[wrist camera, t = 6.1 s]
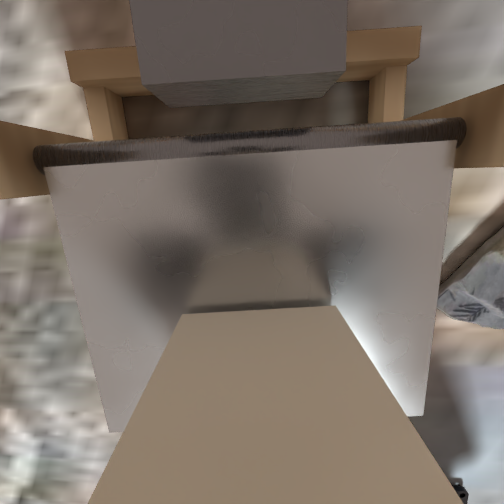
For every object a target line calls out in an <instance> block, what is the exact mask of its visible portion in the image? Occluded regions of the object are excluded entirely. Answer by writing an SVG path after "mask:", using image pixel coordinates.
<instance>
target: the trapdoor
mask: <svg viewBox="0 0 504 504" xmlns="http://www.w3.org/2000/svg"><path fill="white" fill-rule="evenodd" d="M129 2H130V9H131V15H132V22H133V29H134V35H135V42H136V49H137V56H138V62H139V69H140V76H141V83H142V85H143V86H144V87H145V88H146V89H147V90H149V91H150V92H151V93H152V94H154V95H155V96H156V97H157V98H159V99H160V100H161V101H162V102H163V103H165V104H166V105H167V106H168V107H170V108H174V107H189V106H204V105H218V104H233V103H248V102H262V101H277V100H292V99H306V98H321V97H322V96H323V95H324V94H325V93H326V92H327V91H328V90H329V89H330V87H331V86H332V85H333V84H334V83H335V82H336V81H337V80H338V79H339V78H340V77H341V76H342V74H343V73H344V72H345V71H346V45H347V2H348V0H129ZM466 130H467V127H466V122H465V120H464V119H463V118H461V117H453V118H439V119H424V120H409V121H394V122H379V123H364V124H349V125H334V126H319V127H304V128H289V129H274V130H259V131H244V132H229V133H214V134H199V135H184V136H169V137H154V138H139V139H124V140H109V141H95V142H80V143H65V144H50V145H38V146H36V147H35V148H34V150H33V160H34V163H35V166H36V167H37V169H38V170H39V172H40V173H42V174H43V175H45V176H46V180H47V184H48V188H49V192H50V196H51V200H52V204H53V208H54V212H55V216H56V220H57V224H58V228H59V232H60V236H61V240H62V244H63V248H64V252H65V256H66V260H67V264H68V268H69V272H70V276H71V280H72V284H73V288H74V292H75V296H76V300H77V304H78V308H79V312H80V316H81V320H82V324H83V328H84V332H85V336H86V340H87V344H88V348H89V352H90V356H91V360H92V364H93V368H94V373H95V377H96V381H97V385H98V389H99V393H100V397H101V401H102V405H103V409H104V413H105V417H106V421H107V425H108V429H109V433H110V432H124V430H125V428H126V426H127V424H128V422H129V420H130V418H131V416H132V414H133V412H134V410H135V408H136V406H137V404H138V402H139V400H140V398H141V396H142V394H143V392H144V390H145V388H146V386H147V384H148V382H149V380H150V378H151V376H152V374H153V372H154V370H155V368H156V366H157V364H158V362H159V360H160V358H161V356H162V354H163V352H164V350H165V348H166V346H167V344H168V342H169V340H170V338H171V336H172V333H173V331H174V329H175V327H176V325H177V323H178V321H179V319H180V317H181V315H182V314H195V313H213V312H230V311H248V310H265V309H282V308H300V307H317V306H334V305H336V307H337V308H338V310H339V312H340V313H341V315H342V316H343V318H344V319H345V321H346V322H347V324H348V325H349V327H350V329H351V330H352V332H353V333H354V335H355V336H356V338H357V339H358V341H359V342H360V344H361V346H362V347H363V349H364V350H365V352H366V353H367V355H368V356H369V358H370V360H371V361H372V363H373V364H374V366H375V367H376V369H377V370H378V372H379V373H380V375H381V377H382V378H383V380H384V381H385V383H386V384H387V386H388V387H389V389H390V390H391V392H392V394H393V395H394V397H395V398H396V400H397V401H398V403H399V404H400V406H401V408H402V409H403V411H404V412H405V414H406V415H407V417H409V416H423V413H424V405H425V397H426V389H427V381H428V373H429V364H430V356H431V348H432V340H433V332H434V324H435V316H436V307H437V299H438V291H439V283H440V275H441V267H442V259H443V250H444V242H445V234H446V226H447V218H448V210H449V202H450V193H451V185H452V177H453V169H454V161H455V153H456V149H457V148H458V147H459V146H460V145H461V144H462V143H463V141H464V139H465V136H466Z"/></svg>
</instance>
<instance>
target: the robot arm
mask: <svg viewBox="0 0 504 504" xmlns="http://www.w3.org/2000/svg"><path fill="white" fill-rule="evenodd" d="M452 487H453V488H454V490H455V491H456V493H457V494H458V496H459V497H460V499H461V500H462V502H463V504H467V501H468V492H467V491H466V489H465V488H464V487H463V486H452Z"/></svg>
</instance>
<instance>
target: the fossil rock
mask: <svg viewBox="0 0 504 504" xmlns="http://www.w3.org/2000/svg"><path fill="white" fill-rule="evenodd" d="M436 308H437V309H439V310H441V311H443V313H444V314H445V315H446V316H448V317H450V318H452V319H454V320H460V321H465V322H470V323H474V324H478V325H480V326H482V327H491V328H494V329H504V226H503V227H502V228H501V229H500V230H499V231H498V232H497V233H496V234H495V235H494V236H492V237H491V238H490V239H488V240H487V241H485V242H484V243H483V245H482V246H481V247H480V248H479V249H478V250H477V251H476V252H475V253H474V254H473V255H472V256H470V257H469V258H468V259H467V260H466V261H465V262H464V263H463V264H462V265H461V266H460V267H459V268H458V269H457V270H456V271H455V272H454V273H453V274H452V275H451V276H450V277H449V278H448V279H447V280H446V281H445V282H444V283H442V284H441V285H440V286H439V291H438V299H437V307H436Z"/></svg>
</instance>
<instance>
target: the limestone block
mask: <svg viewBox="0 0 504 504" xmlns="http://www.w3.org/2000/svg"><path fill="white" fill-rule="evenodd" d="M88 504H463V502H462V500H461V499H460V497H459V496H458V494H457V493H456V491H455V490H454V488H453V487H452V485H451V483H450V482H449V480H448V479H447V477H446V476H445V474H444V473H443V471H442V469H441V468H440V466H439V465H438V463H437V462H436V460H435V459H434V457H433V456H432V454H431V452H430V451H429V449H428V448H427V446H426V445H425V443H424V442H423V440H422V439H421V437H420V435H419V434H418V432H417V431H416V429H415V428H414V426H413V425H412V423H411V421H410V420H409V418H408V417H407V415H406V414H405V412H404V411H403V409H402V408H401V406H400V404H399V403H398V401H397V400H396V398H395V397H394V395H393V394H392V392H391V390H390V389H389V387H388V386H387V384H386V383H385V381H384V380H383V378H382V377H381V375H380V373H379V372H378V370H377V369H376V367H375V366H374V364H373V363H372V361H371V360H370V358H369V356H368V355H367V353H366V352H365V350H364V349H363V347H362V346H361V344H360V342H359V341H358V339H357V338H356V336H355V335H354V333H353V332H352V330H351V329H350V327H349V325H348V324H347V322H346V321H345V319H344V318H343V316H342V315H341V313H340V312H339V310H338V308H337V307H336V305H334V306H317V307H300V308H282V309H265V310H248V311H230V312H213V313H195V314H182V315H181V317H180V319H179V321H178V323H177V325H176V327H175V329H174V331H173V333H172V336H171V338H170V340H169V342H168V344H167V346H166V348H165V350H164V352H163V354H162V356H161V358H160V360H159V362H158V364H157V366H156V368H155V370H154V372H153V374H152V376H151V378H150V380H149V382H148V384H147V386H146V388H145V390H144V392H143V394H142V396H141V398H140V400H139V402H138V404H137V406H136V408H135V410H134V412H133V414H132V416H131V418H130V420H129V422H128V424H127V426H126V428H125V430H124V432H123V434H122V436H121V438H120V440H119V442H118V444H117V446H116V448H115V450H114V452H113V454H112V456H111V458H110V460H109V462H108V464H107V466H106V468H105V470H104V472H103V474H102V476H101V478H100V480H99V482H98V484H97V486H96V488H95V490H94V492H93V494H92V496H91V498H90V500H89V502H88Z"/></svg>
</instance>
